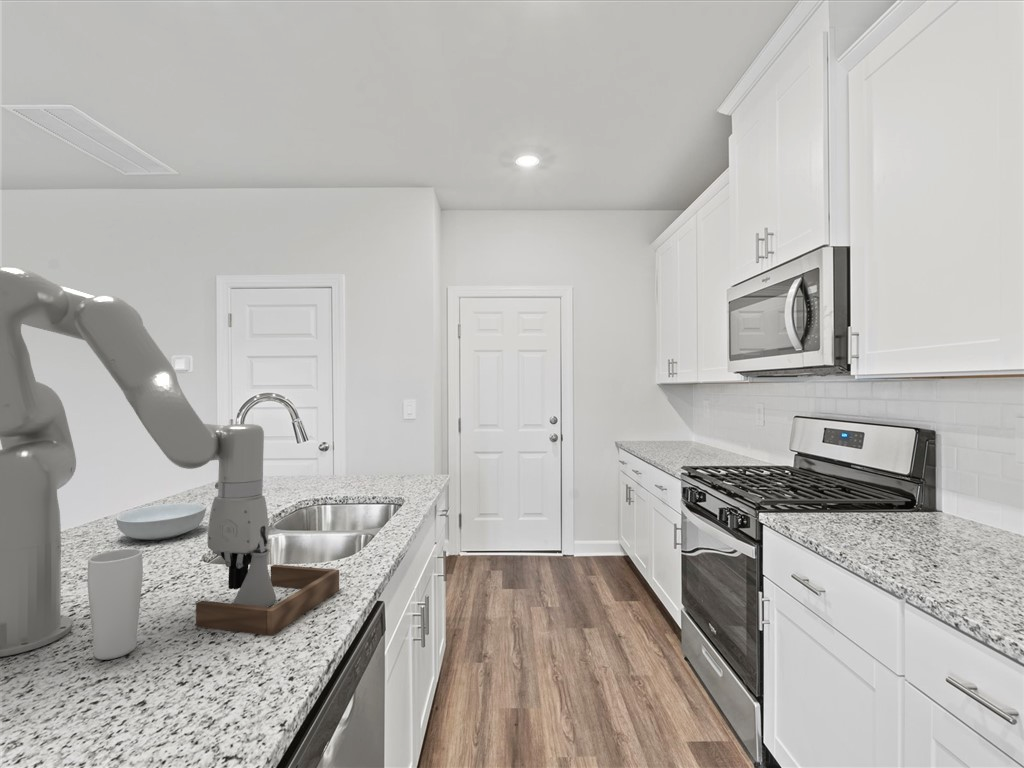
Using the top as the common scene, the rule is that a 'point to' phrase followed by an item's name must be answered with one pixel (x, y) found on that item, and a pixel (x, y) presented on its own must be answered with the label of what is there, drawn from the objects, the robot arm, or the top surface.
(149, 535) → the serving bowl
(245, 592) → the flask
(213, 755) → the top surface
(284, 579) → the box
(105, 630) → the white tall hollow cylinder
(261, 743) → the top surface
